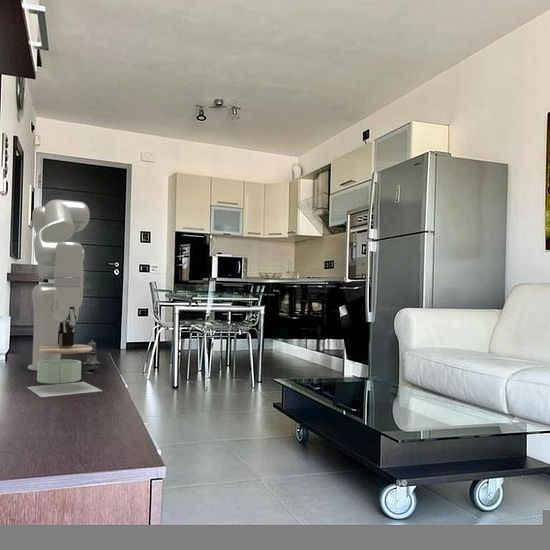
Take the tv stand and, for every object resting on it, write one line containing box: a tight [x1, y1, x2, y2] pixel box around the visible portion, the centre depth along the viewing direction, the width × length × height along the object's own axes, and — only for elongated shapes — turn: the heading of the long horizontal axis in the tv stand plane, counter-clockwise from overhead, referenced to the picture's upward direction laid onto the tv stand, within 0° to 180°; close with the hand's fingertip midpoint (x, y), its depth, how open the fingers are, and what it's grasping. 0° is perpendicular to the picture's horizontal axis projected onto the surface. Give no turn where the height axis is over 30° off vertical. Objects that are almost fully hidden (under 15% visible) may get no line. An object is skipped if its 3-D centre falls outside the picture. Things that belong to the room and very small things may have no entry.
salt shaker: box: [82, 339, 101, 375], centre depth 186 cm, size 6×6×12 cm
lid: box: [38, 334, 92, 355], centre depth 155 cm, size 15×15×5 cm
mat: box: [26, 381, 103, 398], centre depth 154 cm, size 17×17×1 cm
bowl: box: [36, 359, 82, 384], centre depth 169 cm, size 13×13×6 cm
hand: (65, 344), depth 155 cm, fingers closed on lid, 3 cm apart
